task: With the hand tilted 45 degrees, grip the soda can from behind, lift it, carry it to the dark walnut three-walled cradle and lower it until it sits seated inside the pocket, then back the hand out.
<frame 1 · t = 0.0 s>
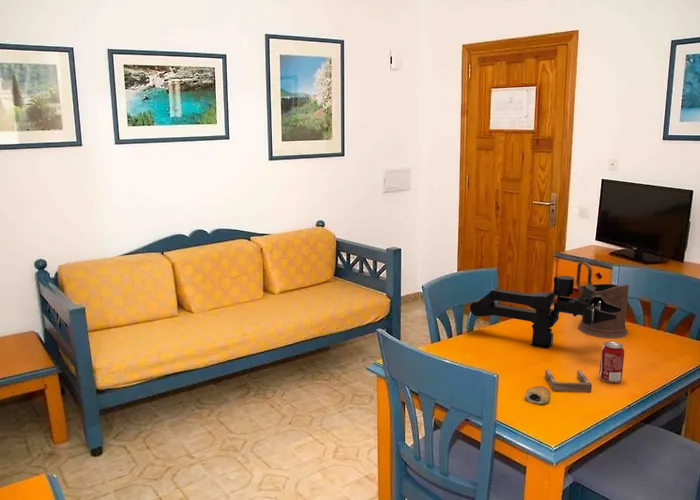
hand: (619, 313, 210), 17 cm above the table, tool horizontal, fingers open, 9 cm apart
soda can: (610, 380, 196), on the table
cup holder: (597, 328, 244), on the table
pastry: (537, 399, 184), on the table
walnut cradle: (567, 383, 193), on the table
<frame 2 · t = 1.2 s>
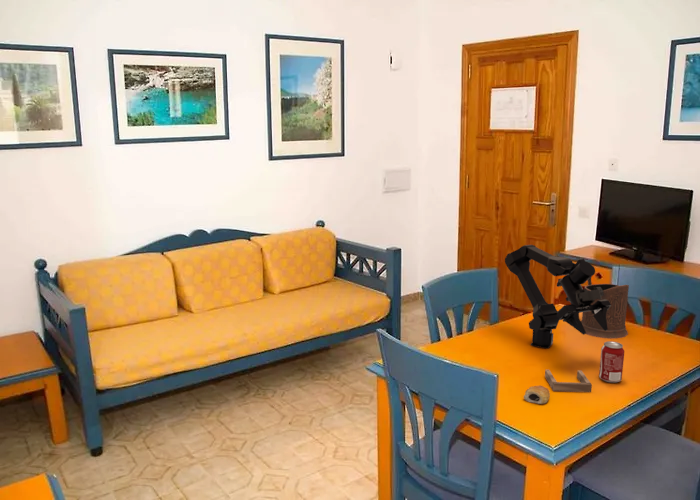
hand: (595, 332, 201), 13 cm above the table, tool tilted 45°, fingers open, 9 cm apart
nothing on the table moved.
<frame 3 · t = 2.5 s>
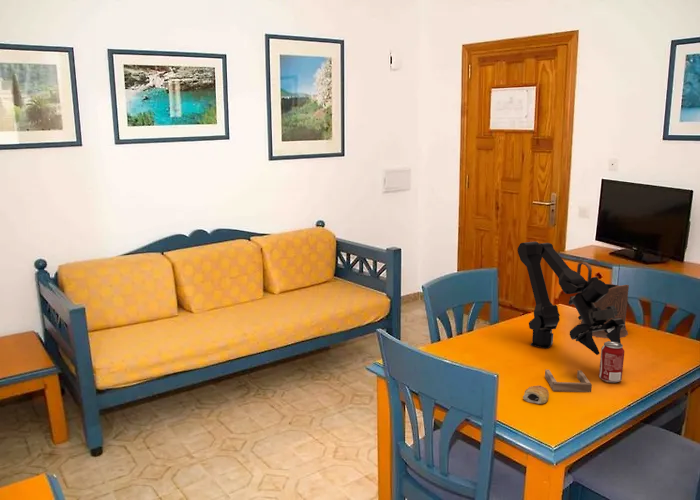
hand: (609, 352, 196), 9 cm above the table, tool tilted 45°, fingers open, 9 cm apart
nothing on the table moved.
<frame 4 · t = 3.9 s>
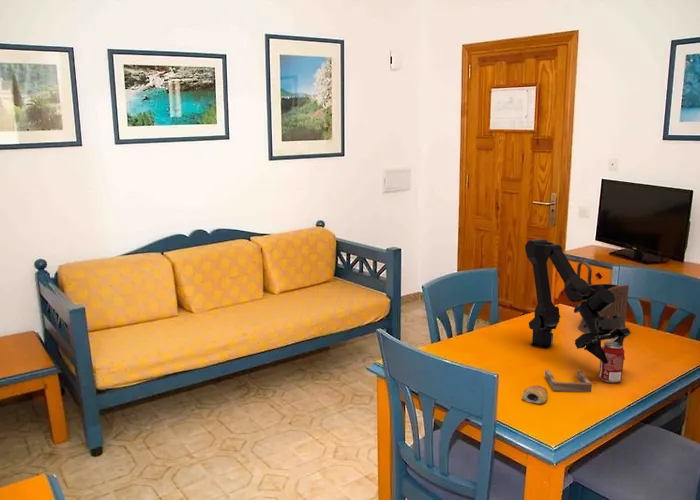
hand: (615, 361, 194), 7 cm above the table, tool tilted 45°, fingers closed on soda can, 6 cm apart
soda can: (610, 380, 196), on the table, touching gripper
everything else where it was.
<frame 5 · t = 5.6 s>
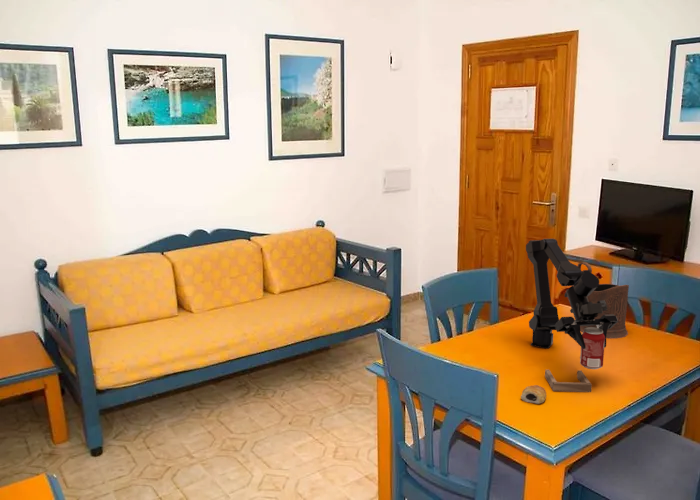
hand: (594, 347, 190), 12 cm above the table, tool tilted 45°, fingers closed on soda can, 6 cm apart
soda can: (591, 366, 193), point 5 cm above the table, touching gripper
when the fingers open (8 cm above the table, at t = 7.6 s): soda can drops 2 cm, on the table.
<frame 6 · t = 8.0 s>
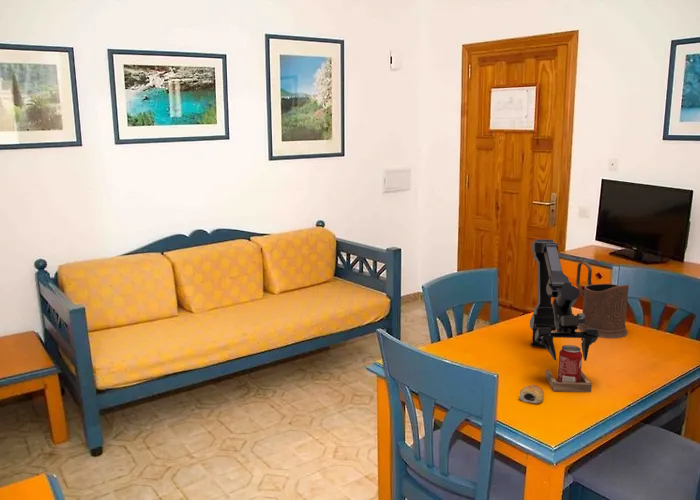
hand: (570, 360, 190), 9 cm above the table, tool tilted 45°, fingers open, 9 cm apart
soda can: (568, 384, 194), on the table
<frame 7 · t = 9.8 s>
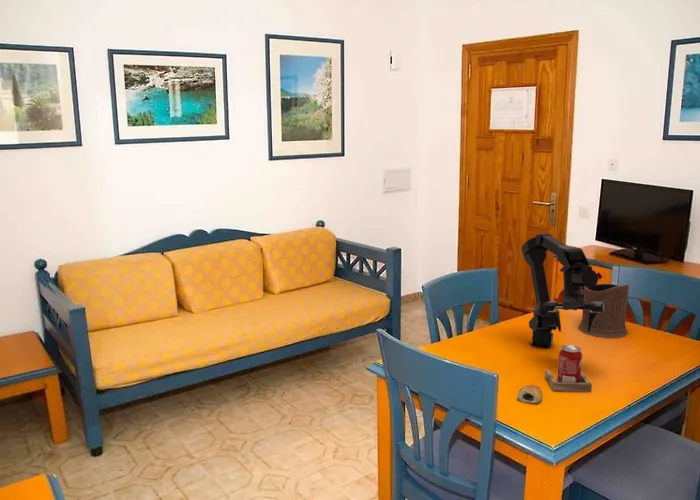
hand: (574, 332, 205), 12 cm above the table, tool pointing down, fingers open, 9 cm apart
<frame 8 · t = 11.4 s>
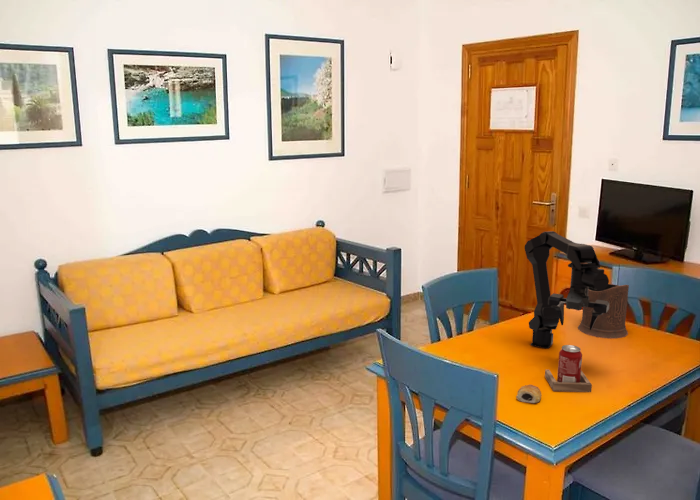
hand: (576, 327, 207), 13 cm above the table, tool pointing down, fingers open, 9 cm apart
at the end: soda can 0.4 cm from the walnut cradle (horizontally); soda can tilted 0°; the gripper is holding nothing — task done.
